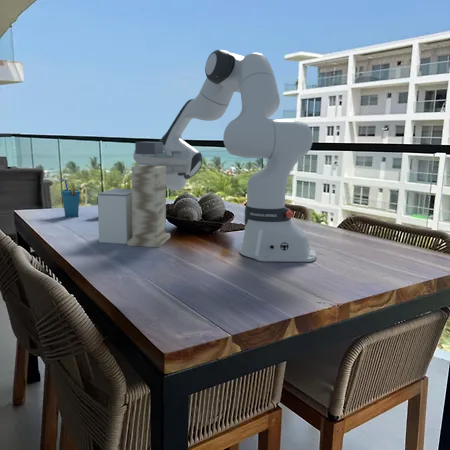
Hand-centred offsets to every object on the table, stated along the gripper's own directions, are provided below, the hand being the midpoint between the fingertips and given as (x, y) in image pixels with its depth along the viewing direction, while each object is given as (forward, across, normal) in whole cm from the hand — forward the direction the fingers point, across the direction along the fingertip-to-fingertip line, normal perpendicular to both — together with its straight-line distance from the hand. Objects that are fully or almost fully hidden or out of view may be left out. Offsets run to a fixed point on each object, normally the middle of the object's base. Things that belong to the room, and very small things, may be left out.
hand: (158, 147), depth 150 cm
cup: (-36, -44, +14) cm, 59 cm away
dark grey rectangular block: (+4, 0, +4) cm, 6 cm away
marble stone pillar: (-6, 0, +31) cm, 31 cm away
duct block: (-8, -10, +30) cm, 33 cm away
